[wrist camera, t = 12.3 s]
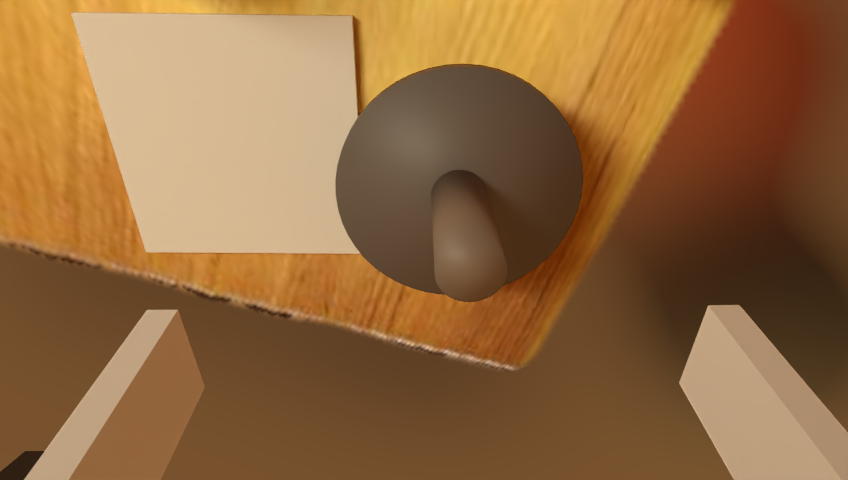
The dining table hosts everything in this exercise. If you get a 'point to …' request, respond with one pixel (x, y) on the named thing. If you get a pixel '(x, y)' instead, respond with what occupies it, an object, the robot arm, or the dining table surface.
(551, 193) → the lid
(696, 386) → the robot arm
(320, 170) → the mat
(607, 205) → the dining table surface
